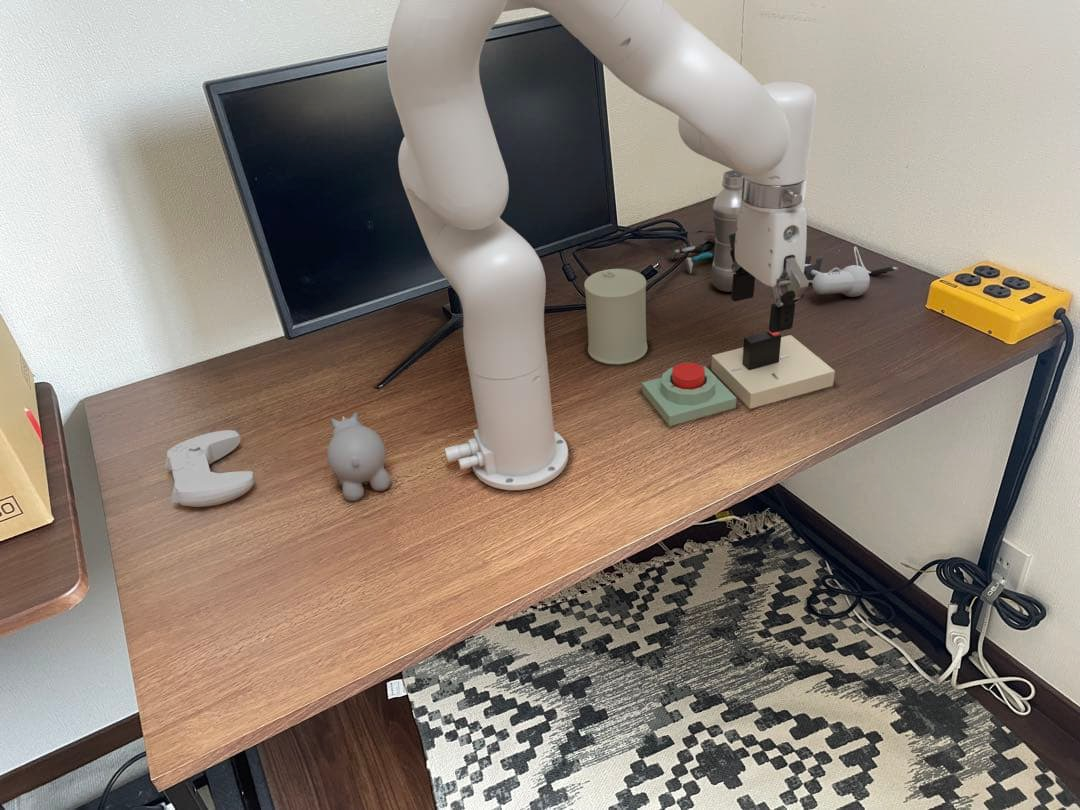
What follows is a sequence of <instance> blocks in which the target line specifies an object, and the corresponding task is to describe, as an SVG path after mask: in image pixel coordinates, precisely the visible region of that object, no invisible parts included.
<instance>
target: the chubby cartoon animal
mask: <svg viewBox="0 0 1080 810" xmlns="http://www.w3.org/2000/svg"><path fill="white" fill-rule="evenodd" d="M330 421H331V424H332V428H333V429H332V437H331V439H330V441H329V443H328V446H327V449H326V459H327V464H328V466H329V468H330V470H331V471H332V473H333V474H334V475H335V476H336V477H337V478H338V483H339V484H340V486H341V487H342V495H343V497H344V499H345V500H346V501H350V502H356V501H358V500H360V499H362V498H363V497H364V495H365V488H364V486H363V485H368V483H369V484H370V487H371V488H372V489H373V490H375V491H376V492H382V491H385V490H387V489H388V488H389V487H390V485H391V484H392V483H391V482H392V478H391V476H390V474H389V472H388V471H387V470H386V469H385V467H384V465H385V463H386V459H387V449H386V445H385V442H384V441H383V439H382V437H381V436H380V434H379V433H377V432H376V430H374V429H372V428H370V427H369V426H364V424H362V423H361V422H360V421H359V413H358V412H357V411H355V412H354V413H353V414H352V416H350V417H349V418H346V417H345V416H344V415H342V418H341V420H337V419H335V418H333V417H332V418H331V419H330Z"/></svg>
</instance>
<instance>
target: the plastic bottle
mask: <svg viewBox="0 0 1080 810" xmlns="http://www.w3.org/2000/svg"><path fill="white" fill-rule="evenodd" d="M721 186H722V187H723V189H722V190H721V191H720V192H719V193H718V194H717V195H716V197H715V199H714V201H713V204H712V214H713V222H714V231H715V233H714V235H715V237H716V238H715V253H714V259H713V261H712V265H711V270H710V279H711V283H712V285H713V286H714V287H715V289H716V290H719V291H722V292H725V293H726V292H728V293H732V282H733V274H736V273H733V272H732V269H731V267H732V264H733V261H732V258H731V255H730V251H731V250H732V248H731V246H730V240H729V235H730V234H732V233H736V229H737V222H738V215H739V210H740V206H741V198H742V187H743V174H741V173H739V172H736V171H734V170H732V169H730V170H726V171H725V172H723V176H722V182H721Z"/></svg>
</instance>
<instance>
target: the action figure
mask: <svg viewBox="0 0 1080 810" xmlns="http://www.w3.org/2000/svg"><path fill="white" fill-rule="evenodd" d="M698 233H705V234H706V236H707V237H705V242H704V243H702V244H700V245H693V246H692V245H691V246H688V247H685V248H680V249H674V250H673V251H671V252H670V254H669V257H670V260H674V259H675V258H676V257H678V256H679V255H680V254H686V253H688V254H697V255H695V256H692V257H686V258H685V267H686V271H687V273H688V274H689V275H691V274H693V266H694V263H696V262H698V261H703V260H705V261H706V260H714V253H715V238H716V237H715V230H703V229H702V230H698V231H697V232H696V234H698Z"/></svg>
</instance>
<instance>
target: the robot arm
mask: <svg viewBox="0 0 1080 810" xmlns="http://www.w3.org/2000/svg"><path fill="white" fill-rule="evenodd" d="M533 8H534V9H537V10H540V11H543V12H547V13H548V14H549V15H551V16H552V17H553V18H554V19H555V20H556V21H558V22H559V23H560V24H561V26H563V27H564V28H565V29H566V30H567V31H568V32H569V33H570V34H571V35H572V36H573V37H574V38H575V39H577V40H578V41H579V42H580V43H581V44H582V45H583V46H584V47H585V48H587V50H588V51H589V52H591V54H593V56H594V57H596V58H597V59H598V60H599V61H600V63H601V64H602V65H603V66H604V67H605V68H606V69H608V70H609V71H610V73H612V74H613V76H614V77H616V79H618V80H619V81H620V82H621V83H623V84H624V85H626V86H627V87H628V88H630V89H631V90H632V91H634V92H635V93H636V94H638V95H640V96H641V97H644V98H645V99H647V100H648V101H651V102H653V103H655V104H657V105H659V106H661V107H662V108H664V109H666V110H667V111H670V112H671V113H673V114H674V115H676V116H678V122H677V128H678V133H679V136H680V138H681V140H682V142H683V144H684V145H685V146H686V147H688V149H690V150H691V151H692V152H694V153H696V154H697V155H700V156H701V157H704V158H706V159H708V160H710V161H711V162H715V163H718V164H720V165H722V166H724V167H726V168H728V169H730V170H734V171H736V172H739V173H741V174H743V187H742V198H741V206H740V210H739V215H738V222H737V229H736V233H732V234H730V235H729V240H730V246H731V248H732V250H731V251H730V255H731V258H732V261H733V264H732V267H731V269H732V272H733V273H736V274H733V282H732V292H731V296H730V297H731V300H732V301H733V302H739V301H744V300H748V299H752V298H754V295H755V285H756V284H755V283H756V279H757V280H758V281H759V282H761V283H762V284H764V285H765V286H767V287H769V288H770V290H771V293H772V297H773V300H774V303H771V305H770V314H769V323H768V330H769V331H770V332H772V333H774V332H778V333H780V332H783V331H787V330H791V329H792V328H793V325H794V318H795V310H796V304H798V303H799V302H800V301H801V299H803V298H804V294H805V292H806V290H807V289H808V287H809V284H810V283H808V280H807V278H806V277H805V275H804V267H805V256H806V255H807V235H808V234H807V233H808V231H807V225H808V224H807V213H806V207H805V206H804V203H805V195H806V188H807V179H808V171H809V163H810V157H811V147H812V141H813V131H814V124H815V116H816V108H817V94H816V92H815V90H814V89H813V87H811V86H810V85H807V84H805V83H802V82H794V81H774V82H768V83H765V84H762V83H760V82H759V80H758V79H756V77H754V76H753V75H752V73H751V72H749V71H748V70H747V69H746V68H745V67H744V66H742V64H740V63H739V62H738V61H737V60H735V59H734V58H733V57H732V56H730V54H728V53H727V52H726V51H724V50H723V49H722V48H720V47H719V46H718V45H717V44H715V43H714V41H712V40H711V39H710V38H708V37H707V35H705V34H704V33H703V32H702V31H700V29H698V28H697V27H695V26H694V25H693V24H691V23H690V22H689V21H688V20H686V19H685V18H684V17H683V16H682V15H681V14H680V13H678V11H676V10H675V8H674V7H673V6H672V5H671V4H670V3H669V2H668V0H400V2H399V4H398V7H397V9H396V11H395V14H394V18H393V21H392V24H391V28H390V31H389V37H388V41H387V49H386V72H387V80H388V85H389V89H390V94H391V97H392V100H393V104H394V107H395V110H396V112H397V115H398V118H399V122H400V126H401V128H402V132H403V135H404V137H403V138H402V140H401V143H400V146H399V150H398V157H397V164H398V171H399V176H400V180H401V183H402V186H403V189H404V191H405V195H406V198H407V199H408V202H409V205H410V207H411V210H412V213H413V215H414V217H415V220H416V223H417V226H418V228H419V230H420V233H421V236H422V238H423V241H424V243H425V246H426V248H427V250H428V253H429V255H430V257H431V260H432V261H433V263H434V265H435V266H436V268H437V269H438V271H439V272H440V273H441V275H443V277H444V278H445V280H447V282H448V283H449V284H450V285H449V286H451V288H452V289H453V290H454V291H455V293H456V294H457V296H458V298H459V301H460V303H461V307H462V315H463V317H462V318H463V322H462V323H463V324H462V334H463V336H462V337H463V345H464V354H465V359H466V365H467V370H468V375H469V381H470V387H471V394H472V398H473V406H474V411H475V418H476V423H477V424H476V425H477V428H476V429H473V437H472V438H470V439H469V438H468V439H467V442H466V443H462V444H456V445H451V446H447V447H444V448H443V451H444V456H445V459H446V462H447V463H448V464H450V463H453V462H457V461H458V466H459V469H460V470H461V471H462V470H465V469H470V468H471V467H472V471H473V473H474V475H475V476H476V477H477V478H478V479H479V481H481V482H482V483H484V484H485V485H487V486H488V487H489V486H490V487H492V488H495V489H499V490H504V491H525V490H532V489H534V488H537V487H540V486H541V487H542V486H544V485H546V484H548V483H550V482H551V481H553V480H554V479H556V478H557V477H559V475H561V474H562V473H563V471H564V469H566V466H567V464H568V462H569V456H570V455H569V446H568V444H567V441H566V440H565V439H564V437H563V436H562V435H561V434H560V433H558V432H557V431H555V425H554V413H553V404H552V396H551V385H550V383H551V382H550V376H549V375H550V373H549V365H548V364H549V363H548V354H547V346H546V345H547V344H546V336H545V335H546V333H545V303H546V293H547V281H546V273H545V269H544V265H543V263H542V261H541V258H540V256H539V255H538V254H537V252H536V250H535V249H534V248H533V246H532V245H531V244H530V243H529V242H528V241H527V240H526V239H525V237H523V236H522V235H521V234H520V233H518V232H517V230H515V229H514V228H513V227H512V226H510V225H508V224H507V223H506V222H505V221H504V220H503V218H501V216H502V215H503V212H504V211H505V209H506V206H507V204H508V199H509V195H510V194H509V193H510V185H509V175H508V171H507V168H506V165H505V162H504V159H503V156H502V153H501V150H500V148H499V143H498V141H497V138H496V135H495V131H494V128H493V124H492V122H491V118H490V115H489V112H488V108H487V105H486V101H485V96H484V92H483V88H482V84H481V77H480V60H481V59H480V58H481V54H482V51H483V48H484V44H485V42H486V40H487V38H488V36H489V34H490V32H491V30H492V29H493V27H494V26H495V24H497V22H498V21H499V19H500V17H501V15H502V14H503V13H505V12H511V11H517V10H523V9H524V10H525V9H533ZM784 275H785V278H784V279H781V278H780V277H781V276H784ZM780 279H781V280H780ZM785 286H786V289H787V291H786V292H785V293H784V294H782V291H781V287H785Z"/></svg>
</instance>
